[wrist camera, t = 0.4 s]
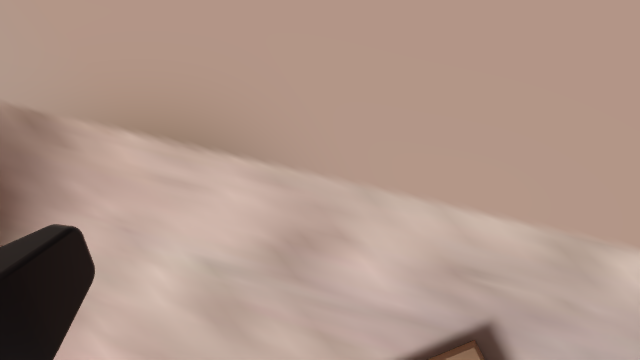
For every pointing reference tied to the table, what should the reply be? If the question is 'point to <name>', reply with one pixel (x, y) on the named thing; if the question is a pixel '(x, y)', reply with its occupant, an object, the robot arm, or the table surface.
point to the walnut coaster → (461, 353)
